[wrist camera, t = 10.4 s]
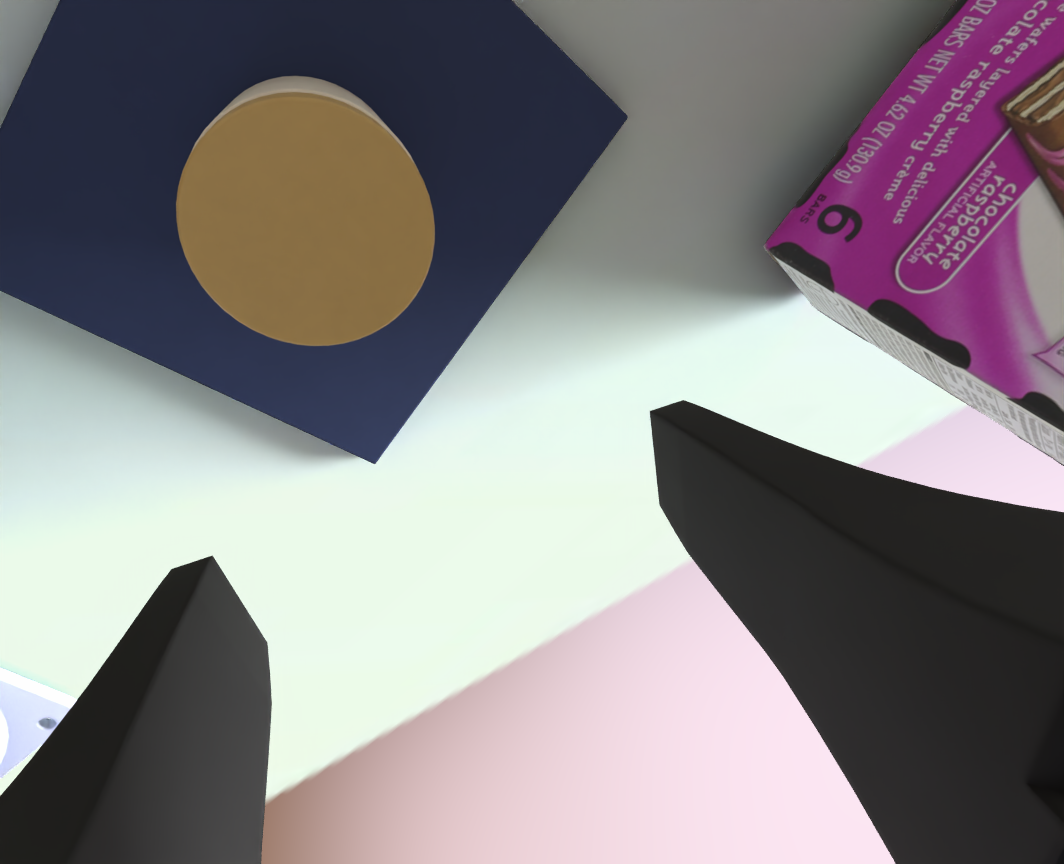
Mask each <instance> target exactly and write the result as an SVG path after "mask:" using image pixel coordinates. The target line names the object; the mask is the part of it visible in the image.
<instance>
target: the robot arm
mask: <svg viewBox="0 0 1064 864" xmlns="http://www.w3.org/2000/svg"><path fill="white" fill-rule="evenodd" d="M650 418H651V427H652V437H653V446H654V456H655V466H656V475H657V485H658V494H659V504H660V506H661V508H662V510H663V512H664V513H665V515H666V517H667V519H668V520H669V522H670V524H671V526H672V527H673V529H674V531H675V533H676V534H677V536H678V537H679V539H680V541H681V542H682V544H683V546H684V547H685V549H686V551H687V552H688V554H689V555H690V556H691V557H692V559H693V560H694V561H695V563H696V564H697V565H698V567H699V568H700V569H701V570H702V572H703V573H704V574H705V575H706V577H707V578H708V579H709V581H710V582H711V583H712V585H713V586H714V587H715V588H716V590H717V591H718V592H719V594H720V595H721V596H722V597H723V599H724V600H725V601H726V602H727V604H728V605H729V606H730V608H731V609H732V610H733V611H734V613H735V614H736V615H737V616H738V618H739V619H740V620H741V621H742V623H743V624H744V625H745V627H746V628H747V629H748V630H749V632H750V633H751V634H752V635H753V637H754V638H755V639H756V641H757V642H758V643H759V644H760V646H761V647H762V648H763V649H764V651H765V652H766V653H767V655H768V656H769V657H770V659H771V660H772V662H773V663H774V664H775V666H776V667H777V669H778V670H779V671H780V673H781V674H782V676H783V677H784V679H785V680H786V682H787V683H788V685H789V686H790V688H791V690H792V691H793V693H794V694H795V696H796V697H797V699H798V701H799V702H800V704H801V705H802V707H803V708H804V710H805V712H806V713H807V715H808V716H809V718H810V719H811V721H812V723H813V724H814V726H815V727H816V729H817V730H818V732H819V733H820V735H821V737H822V739H823V740H824V742H825V744H826V745H827V747H828V749H829V750H830V752H831V753H832V755H833V757H834V758H835V760H836V762H837V763H838V765H839V767H840V768H841V770H842V772H843V773H844V775H845V777H846V778H847V780H848V782H849V783H850V785H851V787H852V788H853V790H854V792H855V793H856V795H857V797H858V798H859V800H860V802H861V804H862V806H863V807H864V809H865V811H866V813H867V814H868V816H869V818H870V819H871V821H872V823H873V825H874V826H875V828H876V830H877V831H878V833H879V835H880V837H881V838H882V840H883V842H884V844H885V845H886V847H887V849H888V851H889V852H890V854H891V856H892V858H893V859H894V861H895V863H896V864H1064V512H1058V511H1051V510H1045V509H1039V508H1032V507H1026V506H1019V505H1014V504H1009V503H1004V502H999V501H993V500H988V499H983V498H978V497H973V496H968V495H963V494H958V493H954V492H949V491H945V490H940V489H936V488H932V487H928V486H924V485H920V484H917V483H913V482H909V481H905V480H901V479H897V478H894V477H890V476H886V475H883V474H879V473H876V472H873V471H869V470H866V469H863V468H859V467H856V466H853V465H850V464H847V463H844V462H842V461H839V460H836V459H833V458H830V457H827V456H824V455H821V454H818V453H815V452H812V451H810V450H807V449H804V448H802V447H799V446H796V445H794V444H791V443H788V442H786V441H783V440H781V439H778V438H776V437H773V436H771V435H768V434H766V433H763V432H761V431H758V430H756V429H753V428H751V427H749V426H746V425H744V424H741V423H739V422H737V421H734V420H732V419H729V418H727V417H725V416H722V415H720V414H718V413H715V412H713V411H710V410H708V409H705V408H703V407H701V406H698V405H695V404H693V403H690V402H687V401H684V400H682V401H679V402H676V403H673V404H670V405H667V406H664V407H661V408H658V409H655V410H652V411H650ZM271 706H272V701H271V683H270V669H269V657H268V645H267V642H266V640H265V638H264V637H263V635H262V634H261V632H260V630H259V629H258V627H257V626H256V624H255V622H254V621H253V619H252V618H251V616H250V615H249V613H248V611H247V610H246V608H245V607H244V605H243V603H242V602H241V600H240V599H239V597H238V595H237V594H236V592H235V591H234V589H233V587H232V586H231V584H230V583H229V581H228V580H227V578H226V576H225V575H224V573H223V572H222V570H221V568H220V567H219V565H218V564H217V562H216V560H215V559H214V557H213V556H210V557H207V558H204V559H201V560H198V561H195V562H192V563H189V564H186V565H183V566H180V567H177V568H174V569H171V571H170V572H169V573H168V575H167V576H166V577H165V578H164V580H163V581H162V582H161V584H160V585H159V586H158V588H157V589H156V590H155V592H154V593H153V595H152V596H151V597H150V599H149V600H148V602H147V603H146V605H145V606H144V607H143V609H142V610H141V612H140V613H139V615H138V616H137V617H136V619H135V620H134V622H133V623H132V625H131V626H130V627H129V629H128V630H127V632H126V633H125V635H124V636H123V637H122V639H121V640H120V642H119V643H118V644H117V646H116V647H115V649H114V650H113V651H112V653H111V654H110V656H109V657H108V658H107V660H106V661H105V663H104V664H103V665H102V667H101V668H100V670H99V671H98V672H97V674H96V675H95V677H94V678H93V679H92V681H91V682H90V684H89V685H88V686H87V688H86V689H85V690H84V692H83V693H82V694H81V696H80V697H79V698H78V700H76V699H75V698H73V697H71V696H69V695H66V694H64V693H62V692H59V691H57V690H54V689H52V688H49V687H47V686H44V685H42V684H39V683H37V682H35V681H32V680H30V679H27V678H25V677H22V676H20V675H17V674H15V673H12V672H10V671H8V670H5V669H3V668H0V779H1V778H2V777H3V776H5V775H6V774H7V773H8V772H10V771H11V770H12V769H13V768H14V767H16V766H17V765H18V764H19V763H21V762H22V761H23V760H24V759H25V758H27V757H28V756H29V755H30V754H31V753H33V752H34V751H35V750H36V749H38V748H39V747H40V746H41V745H42V744H43V745H42V746H41V747H40V749H39V750H38V751H37V753H36V754H35V755H34V756H33V758H32V759H31V760H30V761H29V763H28V764H27V765H26V766H25V767H24V769H23V770H22V771H21V772H20V774H19V775H18V776H17V777H16V778H15V779H14V781H13V782H12V783H11V784H10V785H9V787H8V788H7V789H6V790H5V791H4V792H3V794H2V795H1V796H0V864H261V852H262V838H263V824H264V810H265V796H266V783H267V769H268V755H269V740H270V724H271ZM46 718H49V719H46Z"/></svg>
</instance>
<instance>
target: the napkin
mask: <svg viewBox="0 0 1064 864" xmlns="http://www.w3.org/2000/svg"><path fill="white" fill-rule="evenodd" d="M284 76H304V77H312V78H317V79H321V80H325V81H328V82H330V83H333V84H336V85H338V86H340V87H342V88H344V89H346V90H348V91H349V92H351V93H352V94H354V95H355V96H357V97H358V98H360V99H361V100H362V101H363V102H364V103H366V104H367V105H368V106H369V107H370V108H371V109H372V110H373V111H374V112H375V113H376V114H377V115H378V117H379V118H380V119H381V120H382V121H383V122H384V123H385V124H386V125H387V127H388V128H389V129H390V130H391V131H392V132H393V133H394V134H395V135H396V137H397V138H398V139H399V140H400V141H401V142H402V144H403V145H404V147H405V148H406V150H407V151H408V152H409V154H410V155H411V157H412V159H413V161H414V163H415V165H416V167H417V169H418V171H419V173H420V175H421V177H422V179H423V181H424V183H425V186H426V189H427V191H428V194H429V197H430V201H431V205H432V209H433V216H434V224H435V242H434V249H433V256H432V260H431V264H430V267H429V271H428V273H427V276H426V278H425V280H424V282H423V285H422V286H421V288H420V290H419V291H418V293H417V295H416V296H415V298H414V299H413V300H412V302H411V303H410V304H409V305H408V307H407V308H406V309H405V310H404V311H403V312H402V313H401V314H400V315H399V316H398V317H397V318H396V319H394V320H393V321H392V322H390V323H389V324H388V325H386V326H385V327H383V328H381V329H380V330H378V331H376V332H374V333H373V334H370V335H368V336H365V337H363V338H361V339H358V340H354V341H351V342H347V343H343V344H336V345H329V346H308V345H297V344H292V343H288V342H283V341H279V340H276V339H273V338H270V337H267V336H265V335H263V334H261V333H258V332H256V331H254V330H252V329H250V328H249V327H247V326H245V325H244V324H242V323H240V322H239V321H237V320H236V319H234V318H233V317H232V316H231V315H229V314H228V313H227V312H225V311H224V310H223V309H222V308H221V307H220V306H219V305H218V304H217V303H216V302H215V301H214V300H213V299H212V298H211V297H210V296H209V294H208V293H207V292H206V291H205V289H204V288H203V287H202V286H201V284H200V283H199V281H198V280H197V278H196V276H195V275H194V273H193V272H192V270H191V268H190V265H189V263H188V261H187V259H186V257H185V254H184V251H183V248H182V245H181V242H180V238H179V233H178V227H177V218H176V201H177V192H178V186H179V182H180V178H181V175H182V171H183V169H184V166H185V164H186V162H187V160H188V158H189V155H190V154H191V151H192V149H193V147H194V145H195V143H196V141H197V140H198V138H199V137H200V135H201V134H202V132H203V131H204V129H205V128H206V127H207V126H208V125H209V124H210V123H211V122H212V121H213V120H214V119H215V118H216V117H217V116H218V115H219V114H220V113H221V112H222V111H223V110H224V109H225V108H226V107H227V106H228V105H229V104H230V103H231V102H232V101H233V100H234V99H235V98H236V97H237V96H238V95H240V94H241V93H242V92H244V91H245V90H247V89H248V88H250V87H252V86H254V85H256V84H258V83H261V82H263V81H266V80H269V79H273V78H278V77H284ZM627 118H628V116H627V115H626V114H625V113H624V112H623V111H622V110H621V109H620V108H619V107H618V106H617V105H616V104H615V103H614V102H613V101H612V100H611V99H610V98H609V97H608V96H607V95H606V94H605V93H604V92H603V91H602V90H601V89H600V88H599V87H598V86H597V85H596V84H595V83H594V82H593V81H592V80H591V79H590V78H589V77H588V76H587V75H586V74H585V73H584V72H583V71H582V70H581V69H580V68H579V67H578V66H577V65H576V64H575V63H574V62H573V61H572V60H571V59H570V58H569V57H568V56H567V55H566V54H565V53H564V52H563V51H562V50H561V49H560V48H559V47H558V46H557V45H556V44H555V43H554V42H553V41H552V40H551V39H550V38H549V37H548V36H547V35H546V34H545V33H544V32H543V31H542V30H541V29H540V28H539V27H538V26H537V25H536V24H535V23H534V22H533V21H532V20H531V19H530V18H529V17H528V16H527V15H526V14H525V13H524V12H523V11H522V10H521V9H520V8H519V7H518V6H517V5H516V4H515V3H514V2H513V1H512V0H60V1H59V3H58V5H57V8H56V10H55V12H54V14H53V16H52V18H51V20H50V23H49V25H48V27H47V29H46V31H45V33H44V35H43V38H42V40H41V42H40V44H39V46H38V48H37V50H36V53H35V55H34V57H33V59H32V61H31V63H30V65H29V68H28V70H27V72H26V74H25V76H24V78H23V80H22V83H21V85H20V87H19V89H18V91H17V93H16V95H15V98H14V100H13V102H12V104H11V106H10V108H9V110H8V113H7V115H6V117H5V119H4V121H3V123H2V125H1V128H0V291H2V292H4V293H6V294H9V295H11V296H13V297H15V298H17V299H19V300H22V301H24V302H26V303H28V304H30V305H32V306H35V307H37V308H39V309H41V310H43V311H45V312H47V313H50V314H52V315H54V316H56V317H58V318H60V319H63V320H65V321H67V322H69V323H71V324H73V325H76V326H78V327H80V328H82V329H84V330H86V331H88V332H91V333H93V334H95V335H97V336H99V337H101V338H104V339H106V340H108V341H110V342H112V343H114V344H117V345H119V346H121V347H123V348H125V349H127V350H129V351H132V352H134V353H136V354H138V355H140V356H142V357H145V358H147V359H149V360H151V361H153V362H155V363H158V364H160V365H162V366H164V367H166V368H168V369H170V370H173V371H175V372H177V373H179V374H181V375H183V376H186V377H188V378H190V379H192V380H194V381H196V382H199V383H201V384H203V385H205V386H207V387H209V388H211V389H214V390H216V391H218V392H220V393H222V394H224V395H227V396H229V397H231V398H233V399H235V400H237V401H240V402H242V403H244V404H246V405H248V406H250V407H252V408H255V409H257V410H259V411H261V412H263V413H265V414H268V415H270V416H272V417H274V418H276V419H278V420H281V421H283V422H285V423H287V424H289V425H291V426H293V427H296V428H298V429H300V430H302V431H304V432H306V433H309V434H311V435H313V436H315V437H317V438H319V439H322V440H324V441H326V442H328V443H330V444H332V445H334V446H337V447H339V448H341V449H343V450H345V451H347V452H350V453H352V454H354V455H356V456H358V457H360V458H363V459H365V460H367V461H369V462H371V463H373V464H375V463H376V462H377V461H378V459H379V458H380V457H381V455H382V454H383V453H384V451H385V450H386V448H387V447H388V446H389V444H390V443H391V442H392V440H393V439H394V437H395V436H396V435H397V433H398V432H399V431H400V429H401V428H402V427H403V425H404V424H405V422H406V421H407V420H408V418H409V417H410V416H411V414H412V413H413V411H414V410H415V409H416V407H417V406H418V405H419V403H420V402H421V400H422V399H423V398H424V396H425V395H426V394H427V392H428V391H429V390H430V388H431V387H432V385H433V384H434V383H435V381H436V380H437V379H438V377H439V376H440V374H441V373H442V372H443V370H444V369H445V368H446V366H447V365H448V363H449V362H450V361H451V359H452V358H453V357H454V355H455V354H456V353H457V351H458V350H459V348H460V347H461V346H462V344H463V343H464V342H465V340H466V339H467V337H468V336H469V335H470V333H471V332H472V331H473V329H474V328H475V327H476V325H477V324H478V322H479V321H480V320H481V318H482V317H483V316H484V314H485V313H486V311H487V310H488V309H489V307H490V306H491V305H492V303H493V302H494V300H495V299H496V298H497V296H498V295H499V294H500V292H501V291H502V290H503V288H504V287H505V285H506V284H507V283H508V281H509V280H510V279H511V277H512V276H513V274H514V273H515V272H516V270H517V269H518V268H519V266H520V265H521V263H522V262H523V261H524V259H525V258H526V257H527V255H528V254H529V253H530V251H531V250H532V248H533V247H534V246H535V244H536V243H537V242H538V240H539V239H540V237H541V236H542V235H543V233H544V232H545V231H546V229H547V228H548V226H549V225H550V224H551V222H552V221H553V220H554V218H555V217H556V216H557V214H558V213H559V211H560V210H561V209H562V207H563V206H564V205H565V203H566V202H567V200H568V199H569V198H570V196H571V195H572V194H573V192H574V191H575V190H576V188H577V187H578V185H579V184H580V183H581V181H582V180H583V179H584V177H585V176H586V174H587V173H588V172H589V170H590V169H591V168H592V166H593V165H594V163H595V162H596V161H597V159H598V158H599V157H600V155H601V154H602V153H603V151H604V150H605V148H606V147H607V146H608V144H609V143H610V142H611V140H612V139H613V137H614V136H615V135H616V133H617V132H618V131H619V129H620V128H621V126H622V125H623V124H624V122H625V121H626V120H627Z"/></svg>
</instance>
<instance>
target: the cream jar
mask: <svg viewBox="0 0 1064 864" xmlns="http://www.w3.org/2000/svg"><path fill="white" fill-rule="evenodd" d="M176 218H177V227H178V233H179V238H180V242H181V245H182V248H183V251H184V254H185V257H186V259H187V261H188V263H189V265H190V268H191V270H192V272H193V273H194V275H195V276H196V278H197V280H198V281H199V283H200V284H201V286H202V287H203V288H204V289H205V291H206V292H207V293H208V294H209V296H210V297H211V298H212V299H213V300H214V301H215V302H216V303H217V304H218V305H219V306H220V307H221V308H222V309H223V310H224V311H225V312H227V313H228V314H229V315H231V316H232V317H233V318H234V319H236V320H237V321H239V322H240V323H242V324H244V325H245V326H247V327H249V328H250V329H252V330H254V331H256V332H258V333H261V334H263V335H265V336H267V337H270V338H273V339H276V340H279V341H283V342H288V343H292V344H297V345H308V346H329V345H336V344H343V343H347V342H351V341H354V340H358V339H361V338H363V337H365V336H368V335H370V334H373V333H374V332H376V331H378V330H380V329H381V328H383V327H385V326H386V325H388V324H389V323H390V322H392V321H393V320H394V319H396V318H397V317H398V316H399V315H400V314H401V313H402V312H403V311H404V310H405V309H406V308H407V307H408V305H409V304H410V303H411V302H412V300H413V299H414V298H415V296H416V295H417V293H418V291H419V290H420V288H421V286H422V285H423V282H424V280H425V278H426V276H427V273H428V271H429V267H430V264H431V260H432V256H433V249H434V242H435V224H434V216H433V209H432V205H431V201H430V197H429V194H428V191H427V189H426V186H425V183H424V181H423V179H422V177H421V175H420V173H419V171H418V169H417V167H416V165H415V163H414V161H413V159H412V157H411V155H410V154H409V152H408V151H407V150H406V148H405V147H404V145H403V144H402V142H401V141H400V140H399V139H398V138H397V137H396V135H395V134H394V133H393V132H392V131H391V130H390V129H389V128H388V127H387V125H386V124H385V123H384V122H383V121H382V120H381V119H380V118H379V117H378V115H377V114H376V113H375V112H374V111H373V110H372V109H371V108H370V107H369V106H368V105H367V104H366V103H364V102H363V101H362V100H361V99H360V98H358V97H357V96H355V95H354V94H352V93H351V92H349V91H348V90H346V89H344V88H342V87H340V86H338V85H336V84H333V83H330V82H328V81H325V80H321V79H317V78H312V77H304V76H284V77H278V78H273V79H269V80H266V81H263V82H261V83H258V84H256V85H254V86H252V87H250V88H248V89H247V90H245V91H244V92H242V93H241V94H240V95H238V96H237V97H236V98H235V99H234V100H233V101H232V102H231V103H230V104H229V105H228V106H227V107H226V108H225V109H224V110H223V111H222V112H221V113H220V114H219V115H218V116H217V117H216V118H215V119H214V120H213V121H212V122H211V123H210V124H209V125H208V126H207V127H206V128H205V129H204V131H203V132H202V134H201V135H200V137H199V138H198V140H197V141H196V143H195V145H194V147H193V149H192V151H191V154H190V155H189V158H188V160H187V162H186V164H185V166H184V169H183V171H182V175H181V178H180V182H179V186H178V192H177V201H176Z"/></svg>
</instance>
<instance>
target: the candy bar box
mask: <svg viewBox="0 0 1064 864" xmlns="http://www.w3.org/2000/svg"><path fill="white" fill-rule="evenodd" d="M764 249H765V250H766V251H767V252H768V254H769V255H770V256H771V257H772V259H773V260H774V261H775V262H776V263H777V264H778V265H780V266H781V267H782V268H783V269H784V270H785V271H786V273H787V274H788V275H789V276H790V278H791V279H792V280H793V282H794V283H795V284H796V285H797V287H798V288H799V289H800V290H801V292H802V293H803V294H804V296H805V297H806V298H807V299H808V301H809V302H810V303H811V305H812V306H814V307H815V308H816V309H817V310H819V311H820V312H822V313H823V314H825V315H826V316H828V317H829V318H831V319H832V320H834V321H835V322H837V323H838V324H840V325H842V326H843V327H845V328H846V329H848V330H849V331H851V332H853V333H854V334H856V335H858V336H859V337H861V338H863V339H864V340H866V341H868V342H870V343H872V344H873V345H875V346H876V347H878V348H880V349H881V350H883V351H884V352H886V353H887V354H889V355H891V356H892V357H894V358H895V359H897V360H898V361H900V362H902V363H903V364H905V365H906V366H908V367H909V368H911V369H912V370H914V371H915V372H917V373H918V374H920V375H922V376H923V377H925V378H926V379H928V380H930V381H931V382H933V383H934V384H936V385H938V386H939V387H941V388H942V389H944V390H945V391H947V392H948V393H950V394H951V395H953V396H955V397H956V398H958V399H960V400H961V401H963V402H965V403H966V404H968V405H969V406H971V407H973V408H975V409H976V410H978V411H979V412H981V413H983V414H984V415H986V416H987V417H989V418H990V419H992V420H994V421H995V422H997V423H998V424H1000V425H1002V426H1003V427H1005V428H1006V429H1008V430H1009V431H1011V432H1012V433H1014V434H1015V435H1017V436H1018V437H1019V438H1020V439H1022V440H1024V441H1026V442H1027V443H1029V444H1030V445H1032V446H1034V447H1035V448H1037V449H1039V450H1040V451H1042V452H1043V453H1045V454H1046V455H1048V456H1050V457H1051V458H1053V459H1054V460H1056V461H1057V462H1058V463H1060V464H1061V465H1063V466H1064V0H957V1H956V2H955V3H954V5H953V6H952V7H951V8H950V10H949V11H948V12H947V13H946V15H945V16H944V17H943V19H942V20H941V21H940V23H939V24H938V25H937V26H936V28H935V29H934V30H933V31H932V33H931V34H930V35H929V36H928V38H927V39H926V40H925V42H924V43H923V44H922V45H921V47H920V48H919V49H918V50H917V52H916V53H915V54H914V56H913V57H912V58H911V59H910V61H909V62H908V63H907V64H906V66H905V67H904V68H903V69H902V71H901V72H900V73H899V75H898V76H897V77H896V78H895V80H894V81H893V82H892V83H891V85H890V86H889V87H888V88H887V90H886V91H885V92H884V94H883V95H882V96H881V97H880V99H879V100H878V101H877V103H876V104H875V105H874V106H873V108H872V109H871V110H870V112H869V113H868V114H867V115H866V117H865V118H864V119H863V120H862V122H861V123H860V124H859V126H858V127H857V128H856V129H855V131H854V132H853V133H852V134H851V136H850V137H849V138H848V139H847V140H846V142H845V143H844V144H843V145H842V147H841V148H840V149H839V150H838V152H837V153H836V154H835V156H834V157H833V158H832V159H831V161H830V162H829V163H828V165H827V166H826V167H825V168H824V170H823V171H822V172H821V173H820V175H819V176H818V177H817V178H816V180H815V181H814V182H813V183H812V185H811V186H810V187H809V188H808V190H807V191H806V192H805V193H804V195H803V196H802V197H801V198H800V200H799V201H798V202H797V203H796V205H795V206H794V207H793V209H792V210H791V211H790V212H789V214H788V215H787V216H786V217H785V219H784V220H783V221H782V222H781V224H780V225H779V226H778V228H777V229H776V230H775V231H774V233H773V234H772V235H771V236H770V238H769V239H768V240H767V242H766V243H765V245H764Z"/></svg>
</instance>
